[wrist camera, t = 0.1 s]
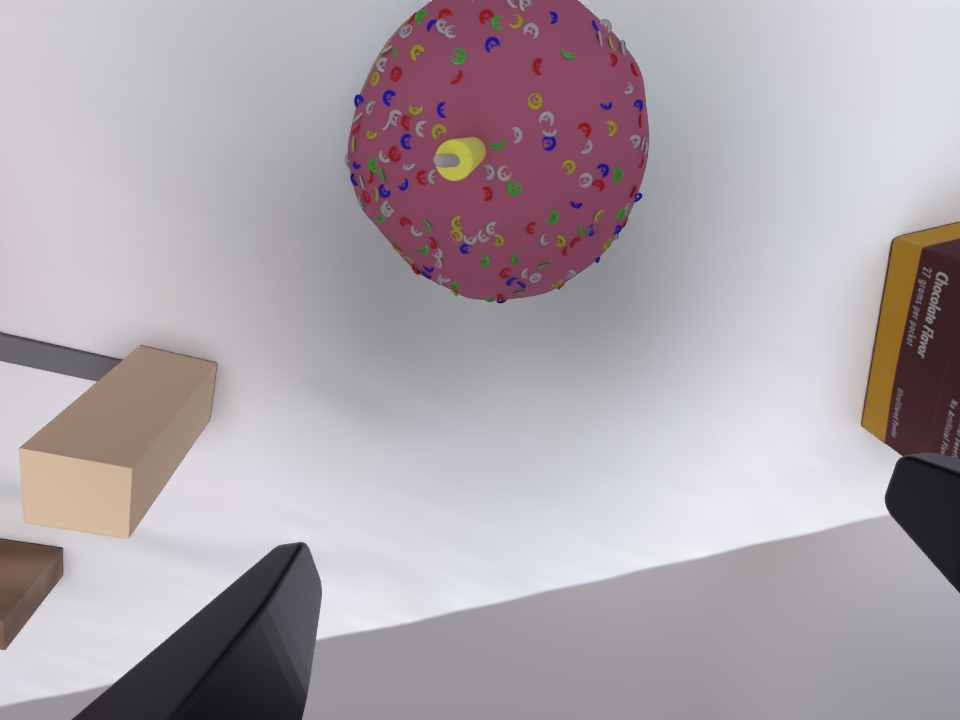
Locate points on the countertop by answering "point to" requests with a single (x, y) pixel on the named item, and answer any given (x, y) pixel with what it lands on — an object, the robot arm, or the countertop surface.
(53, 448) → the beige upright piece
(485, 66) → the cupcake
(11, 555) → the batten
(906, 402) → the supplement box
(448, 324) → the countertop surface
